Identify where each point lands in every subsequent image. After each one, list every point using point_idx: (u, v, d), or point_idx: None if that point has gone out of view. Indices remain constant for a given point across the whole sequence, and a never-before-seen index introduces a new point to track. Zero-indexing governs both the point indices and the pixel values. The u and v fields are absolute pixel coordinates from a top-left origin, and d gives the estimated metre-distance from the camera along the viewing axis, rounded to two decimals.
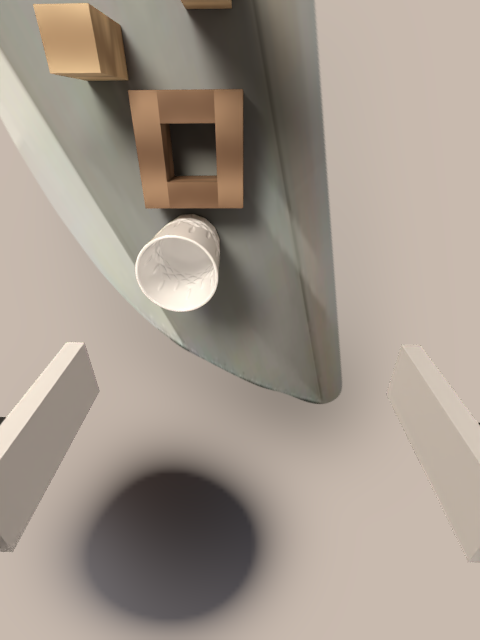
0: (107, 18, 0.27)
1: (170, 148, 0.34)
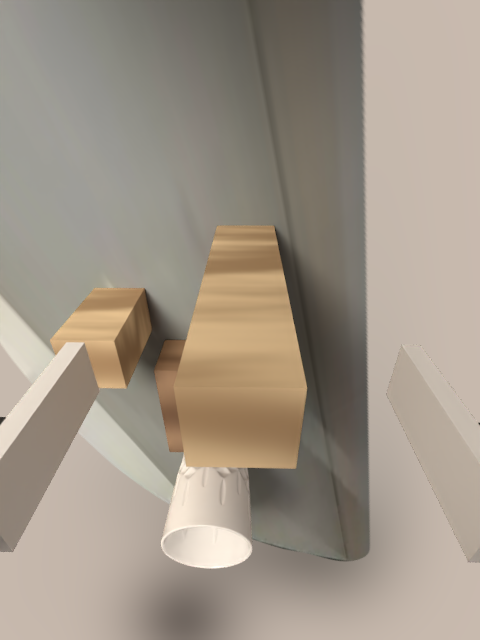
0: (132, 311, 0.24)
1: None
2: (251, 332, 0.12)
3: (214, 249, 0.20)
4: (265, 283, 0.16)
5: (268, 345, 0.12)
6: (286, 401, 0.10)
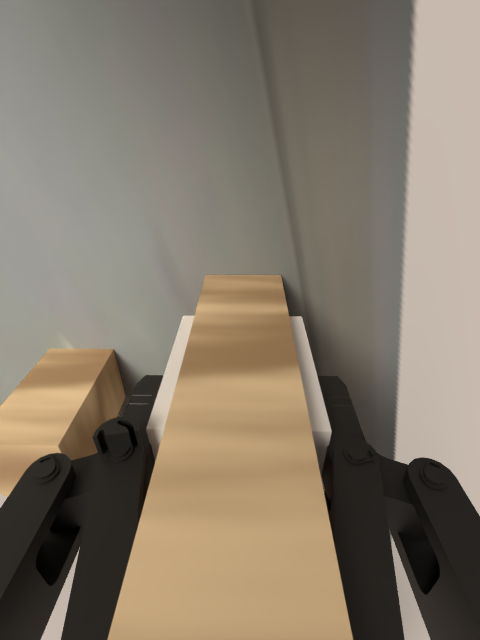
0: (92, 388, 0.18)
1: None
2: (250, 554, 0.06)
3: (198, 321, 0.14)
4: (273, 400, 0.10)
5: (285, 609, 0.06)
6: None
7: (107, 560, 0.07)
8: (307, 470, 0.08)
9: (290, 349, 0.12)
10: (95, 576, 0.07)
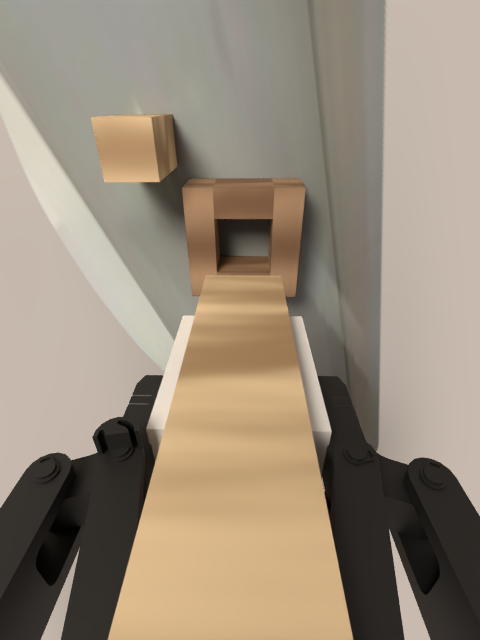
0: (163, 117, 0.25)
1: (218, 232, 0.32)
2: (250, 555, 0.06)
3: (198, 321, 0.14)
4: (273, 400, 0.10)
5: (285, 611, 0.06)
6: None
7: (107, 560, 0.07)
8: (307, 471, 0.08)
9: (290, 349, 0.12)
10: (95, 576, 0.07)
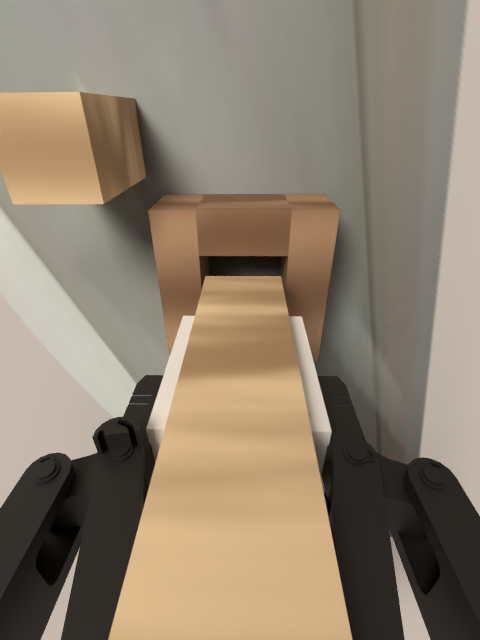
0: (115, 99, 0.15)
1: (207, 269, 0.23)
2: (250, 557, 0.06)
3: (198, 322, 0.14)
4: (273, 401, 0.10)
5: (285, 612, 0.06)
6: None
7: (107, 560, 0.07)
8: (307, 472, 0.08)
9: (290, 350, 0.12)
10: (95, 576, 0.07)
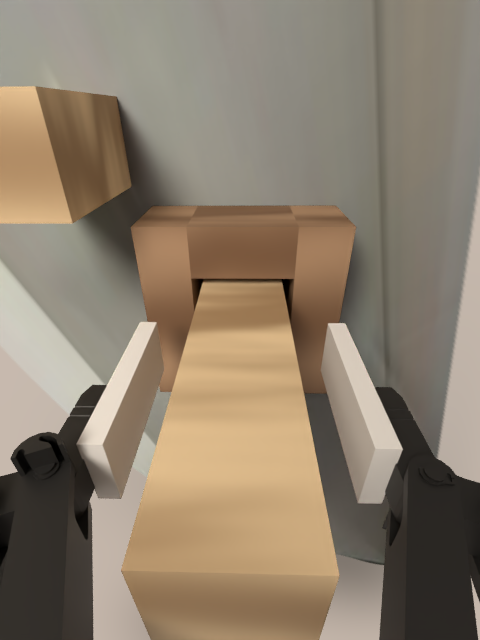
0: (88, 97, 0.13)
1: None
2: (248, 441, 0.09)
3: (204, 292, 0.16)
4: (268, 347, 0.12)
5: (274, 472, 0.08)
6: (305, 588, 0.06)
7: (35, 581, 0.07)
8: (294, 392, 0.10)
9: (283, 312, 0.14)
10: (22, 600, 0.07)
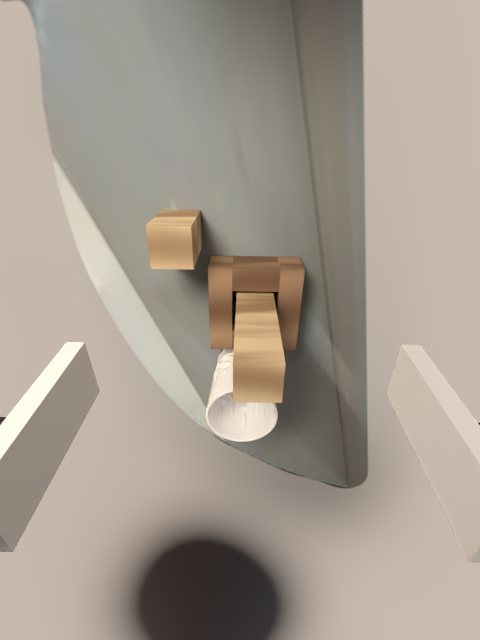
0: (196, 218, 0.32)
1: None
2: (262, 342, 0.28)
3: (238, 297, 0.35)
4: (267, 318, 0.31)
5: (270, 348, 0.27)
6: (277, 369, 0.25)
7: None
8: (276, 331, 0.29)
9: (273, 306, 0.33)
10: None
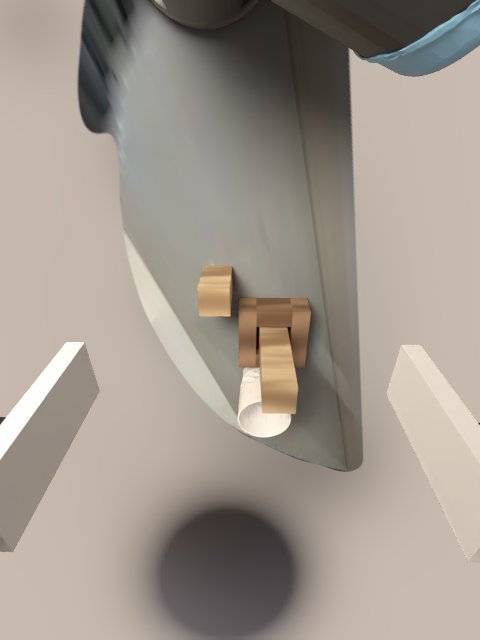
0: (231, 277, 0.44)
1: None
2: (281, 371, 0.40)
3: (261, 332, 0.47)
4: (284, 350, 0.43)
5: (287, 376, 0.39)
6: (292, 392, 0.38)
7: None
8: (291, 362, 0.41)
9: (288, 339, 0.45)
10: None
